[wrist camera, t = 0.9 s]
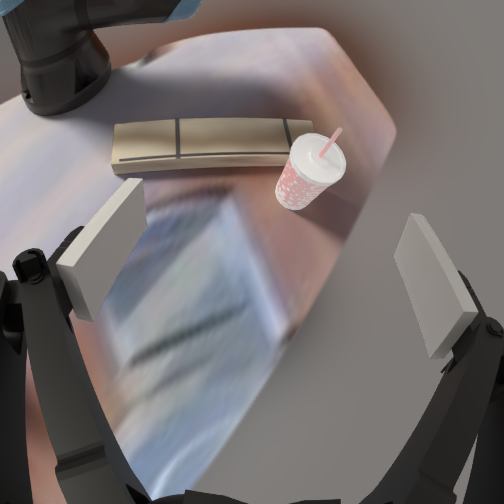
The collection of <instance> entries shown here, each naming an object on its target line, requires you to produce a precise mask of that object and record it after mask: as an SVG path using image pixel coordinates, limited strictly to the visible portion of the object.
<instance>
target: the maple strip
mask: <svg viewBox="0 0 504 504" xmlns="http://www.w3.org/2000/svg"><path fill="white" fill-rule="evenodd" d="M307 133H315V131H314V127H313V124H312V121H308V120H292V119H271V118H191V119H171V120H156V121H143V122H132V123H122V124H115V126H114V136H113V146H112V158H111V166H112V169H113V171H114V174H115V175H116V174H126V173H136V172H148V171H160V170H175V169H191V168H212V167H242V166H285V165H286V163H287V161H288V159H289V156H290V150H291V147H292V144H293V143H294V142H295V140H296V139H297V138H298V137H299V136H302V135H304V134H307Z"/></svg>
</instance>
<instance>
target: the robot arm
mask: <svg viewBox="0 0 504 504" xmlns="http://www.w3.org/2000/svg"><path fill="white" fill-rule="evenodd" d="M201 2H202V0H0V16H2V19H3V22H4V24H5V27H6V30H7V33H8V35H9V38H10V40H11V43H12V45H13V48H14V50H15V53H16V55H17V57H18V60H19V62H20V69H21V93H22V97H23V99H24V101H25V103H26V105H27V107H28V108H29V110H31V111H32V112H34V113H36V114H39V115H56V114H61V113H64V112H67V111H70V110H72V109H75V108H77V107H79V106H80V105H82V104H84V103H85V102H87V101H88V100H90V99H91V98H92V97H94V96H95V95H96V94H97V93H98V92H99V91H100V90H101V89H102V88H103V87H104V85H105V84H106V82H107V81H108V79H109V76H110V73H111V63H110V57H109V54H108V51H107V50H106V49H105V47H104V45H103V44H102V42H101V41H100V40H99V38H98V37H97V35H96V34H95V32H94V31H93V29H97V28H104V27H112V26H121V25H131V24H146V23H165V22H168V21H180V20H186V19H189V18H191V17H192V16H193V15H194V14H195V13H196V12H197V11H198V9H199V7H200V5H201ZM146 228H147V219H146V209H145V199H144V188H143V179H139V178H128V179H127V180H126V181H125V182H124V183H123V184H122V186H121V187H120V188H119V189H118V190H117V191H116V192H115V193H114V194H113V195H112V196H111V197H110V199H109V200H108V201H107V202H106V203H105V204H104V205H103V206H102V208H101V209H100V210H99V211H98V212H97V213H96V214H95V216H94V217H93V218H92V219H91V220H90V221H89V223H88V224H87V225H86V226H79V227H78V228H76V229H75V230H73V231H72V232H70V234H69V235H68V236H67V237H66V238H65V239H64V241H63V242H62V243H61V244H60V246H59V247H58V248H57V249H56V250H55V252H54V253H53V254H52V255H51V257H50V258H49V259H48V261H46V258H45V255H44V253H43V251H42V250H40V249H37V248H32V249H28V250H26V251H24V252H22V253H20V254H19V255H18V256H17V257H16V258H15V260H14V261H13V265H12V266H13V268H14V271H15V273H16V275H17V278H18V280H10V281H8V279H7V277H6V275H5V273H4V272H2V271H0V504H33V499H32V490H31V483H30V475H29V467H28V457H27V445H26V427H25V377H26V359H27V348H28V354H29V359H30V364H31V369H32V374H33V379H34V383H35V388H36V392H37V396H38V400H39V404H40V407H41V411H42V415H43V418H44V421H45V425H46V428H47V431H48V434H49V437H50V440H51V443H52V446H53V449H54V452H55V455H56V458H57V463H58V464H57V466H56V467H55V474H56V477H57V480H58V483H59V486H60V488H61V490H62V493H63V495H64V497H65V499H66V502H67V504H247V503H244V502H241V501H238V500H235V499H232V498H229V497H227V496H223V495H216V494H209V493H203V492H196V491H191V490H185V494H177V495H171V496H166V497H162V498H159V499H156V500H154V501H152V500H151V498H150V497H149V495H148V494H147V492H146V490H145V489H144V487H143V486H142V484H141V483H140V481H139V480H138V478H137V477H136V476H135V474H134V473H133V471H132V469H131V468H130V466H129V464H128V462H127V460H126V458H125V457H124V455H123V453H122V451H121V449H120V447H119V445H118V443H117V441H116V439H115V436H114V434H113V432H112V430H111V428H110V426H109V424H108V421H107V419H106V417H105V415H104V412H103V410H102V408H101V405H100V403H99V400H98V398H97V396H96V393H95V390H94V388H93V385H92V383H91V380H90V377H89V375H88V372H87V369H86V366H85V364H84V361H83V358H82V355H81V352H80V349H79V346H78V343H77V339H76V336H75V333H74V330H73V326H72V323H71V320H70V318H69V314H70V312H71V310H72V308H73V310H74V312H75V314H76V317H77V318H78V319H82V320H87V321H91V322H93V321H94V320H95V318H96V316H97V314H98V312H99V310H100V308H101V306H102V304H103V302H104V301H105V299H106V297H107V295H108V293H109V291H110V289H111V288H112V286H113V284H114V282H115V280H116V279H117V277H118V275H119V273H120V272H121V270H122V268H123V266H124V265H125V263H126V261H127V259H128V258H129V256H130V254H131V253H132V251H133V249H134V248H135V246H136V244H137V243H138V241H139V239H140V238H141V236H142V234H143V233H144V231H145V230H146ZM393 257H394V259H395V262H396V264H397V267H398V269H399V272H400V274H401V277H402V279H403V282H404V284H405V287H406V290H407V293H408V295H409V298H410V301H411V303H412V306H413V309H414V312H415V315H416V318H417V321H418V324H419V327H420V330H421V333H422V336H423V339H424V342H425V345H426V348H427V352H428V356H429V358H431V359H432V358H444V357H445V356H446V355H447V354H448V352H449V351H450V350H451V349H452V352H453V355H454V357H453V358H452V359H451V360H450V361H449V363H448V364H447V365H446V366H445V367H444V368H443V369H442V371H441V373H443V372H444V371H445V372H444V375H443V377H442V379H441V381H440V383H439V385H438V387H437V389H436V391H435V393H434V395H433V397H432V399H431V401H430V403H429V405H428V407H427V408H426V410H425V412H424V414H423V416H422V418H421V420H420V421H419V423H418V425H417V427H416V428H415V430H414V431H413V433H412V435H411V437H410V438H409V440H408V441H407V443H406V445H405V446H404V448H403V449H402V451H401V452H400V454H399V456H398V457H397V459H396V460H395V461H394V463H393V464H392V466H391V468H390V469H389V470H388V472H387V473H386V475H385V476H384V477H383V479H382V480H381V481H380V483H379V484H378V486H377V487H376V488H375V489H374V490H373V492H371V493H370V494H369V495H368V496H367V497H366V498H364V500H362V501H361V502H360V503H359V504H455V503H456V498H457V496H456V495H455V494H454V493H453V489H454V486H455V484H456V482H457V480H458V478H459V476H460V474H461V472H462V470H463V467H464V465H465V463H466V461H467V458H468V456H469V454H470V451H471V449H472V447H473V444H474V442H475V439H476V436H477V434H478V437H477V443H476V449H475V454H474V459H473V464H472V469H471V474H470V478H469V482H468V486H467V490H466V493H465V497H464V501H463V504H504V329H503V327H502V326H501V325H500V323H499V322H497V321H496V320H495V319H493V318H491V317H487V316H486V314H485V312H484V310H483V309H482V306H481V304H480V302H479V300H478V298H477V296H476V295H475V293H474V291H473V289H471V288H472V287H471V285H470V283H469V281H468V280H467V278H466V277H465V276H464V275H463V274H462V273H461V272H460V271H457V270H456V268H455V266H454V265H453V263H452V261H451V259H450V258H449V256H448V254H447V252H446V251H445V249H444V247H443V246H442V244H441V242H440V241H439V239H438V238H437V236H436V234H435V233H434V231H433V230H432V228H431V226H430V225H429V223H428V222H427V220H426V219H425V217H424V216H423V215H421V214H416V213H410V215H409V218H408V220H407V223H406V226H405V228H404V231H403V233H402V236H401V238H400V241H399V244H398V246H397V248H396V251H395V253H394V256H393ZM291 504H341V500H340V499H334V500H304V501H300V502H295V503H291Z"/></svg>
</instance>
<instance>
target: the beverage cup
mask: <svg viewBox="0 0 504 504" xmlns="http://www.w3.org/2000/svg"><path fill="white" fill-rule="evenodd" d="M341 132H342V128H340V127H338V129H337V130H336V131H335V133H334V134H333V135H332V137H331V138H330V139H329V138H328V137H325V136H323V135H320V134H315V133H307V134H304V135H302V136H299V137H298V138H297V139H296V140H295V142H294V143H293V144H292V147H291V150H290V156H289V159H288V161H287V163H286V165H285V168H284V170H283V172H282V174H281V176H280V179H279V181H278V183H277V185H276V190H275V193H276V197H277V199H278V201H279V202H280V204H282V205H283V206H284V207H286V208H288V209H291V210H300V209H302V208H304V207H306V206H307V205H308V204H309V203H310V202H311V201H312V200H314V199H315V198H316V197H317V196H318V195H319V194H320V193H321V192H323V191H324V190H325V189H326V188H327V187H328V186H330V185H332V184H334V183H335V182H337V181H338V180H340V179H341V177H342V176H343V174H344V172H345V170H346V160H345V157H344V154H343V152H342V151H341V149H340V148H339V147H338V145H337V144H336V143H335V142H334V141H335V140H336V138H337V137H338V136H339V134H340V133H341Z"/></svg>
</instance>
